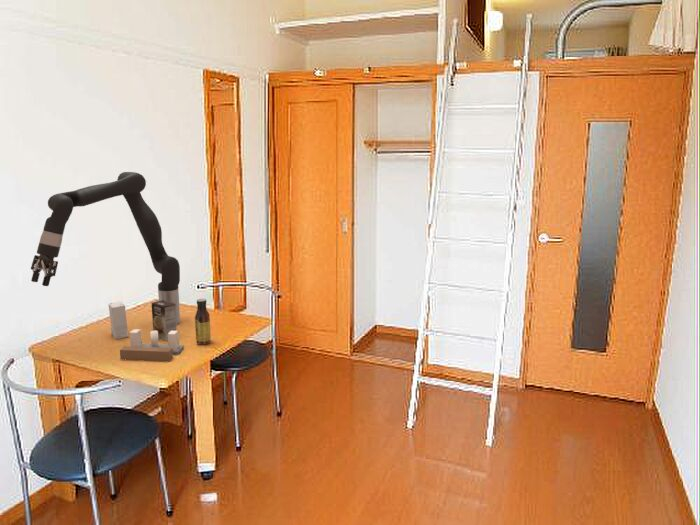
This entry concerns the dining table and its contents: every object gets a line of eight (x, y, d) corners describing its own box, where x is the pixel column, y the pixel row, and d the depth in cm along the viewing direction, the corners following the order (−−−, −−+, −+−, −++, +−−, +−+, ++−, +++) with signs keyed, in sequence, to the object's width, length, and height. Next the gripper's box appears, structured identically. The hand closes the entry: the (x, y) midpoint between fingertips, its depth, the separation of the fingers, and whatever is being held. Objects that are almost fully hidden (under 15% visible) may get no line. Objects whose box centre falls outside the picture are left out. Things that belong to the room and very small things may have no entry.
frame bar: (125, 356, 220) (124, 346, 219) (173, 358, 219) (172, 348, 218) (120, 360, 216) (119, 349, 215) (169, 362, 215) (168, 351, 214)
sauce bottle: (197, 340, 238) (195, 297, 234) (211, 340, 239) (210, 297, 235) (194, 345, 232) (192, 301, 228) (209, 345, 232) (207, 301, 228)
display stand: (133, 346, 229) (132, 327, 227) (183, 348, 228) (183, 329, 226) (125, 352, 222) (124, 333, 221) (178, 354, 221) (177, 335, 220)
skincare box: (128, 337, 240) (126, 305, 237) (114, 339, 237) (111, 307, 234) (124, 331, 247) (122, 300, 244) (110, 334, 244) (108, 302, 241)
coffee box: (152, 337, 241) (150, 302, 237) (164, 333, 246) (162, 299, 243) (165, 341, 236) (163, 306, 232) (177, 337, 241) (175, 303, 238)
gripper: (68, 248, 211) (58, 288, 210) (50, 243, 219) (40, 281, 218) (49, 244, 205) (39, 286, 204) (31, 239, 213) (21, 279, 212)
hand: (39, 283), depth 211 cm, fingers open, 8 cm apart
